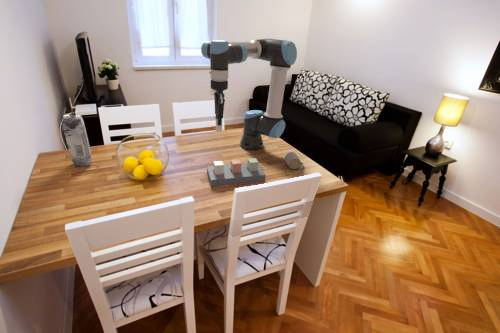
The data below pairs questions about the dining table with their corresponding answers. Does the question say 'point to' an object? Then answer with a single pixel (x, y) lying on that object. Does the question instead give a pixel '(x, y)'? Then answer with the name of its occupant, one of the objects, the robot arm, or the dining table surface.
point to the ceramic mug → (293, 161)
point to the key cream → (218, 168)
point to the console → (235, 176)
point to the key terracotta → (235, 166)
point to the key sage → (252, 165)
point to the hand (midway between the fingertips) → (218, 130)
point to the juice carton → (77, 140)
